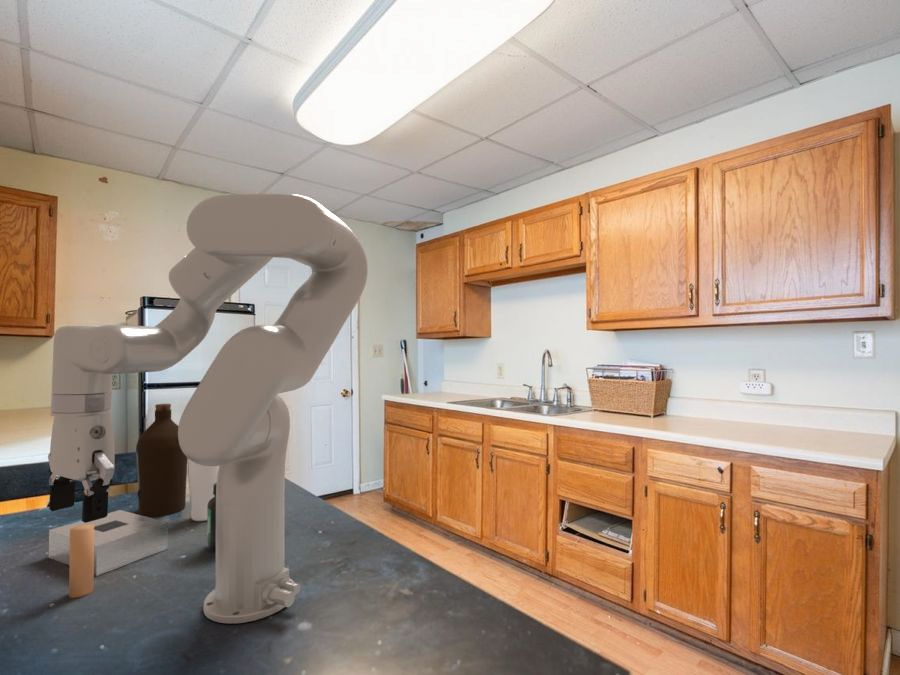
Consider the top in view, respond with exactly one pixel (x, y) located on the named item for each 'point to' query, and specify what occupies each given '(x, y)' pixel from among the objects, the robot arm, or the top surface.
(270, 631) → the top surface
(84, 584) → the peg
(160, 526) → the hole block
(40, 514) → the top surface
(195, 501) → the drinking glass
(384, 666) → the top surface
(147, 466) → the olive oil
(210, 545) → the supplement bottle
